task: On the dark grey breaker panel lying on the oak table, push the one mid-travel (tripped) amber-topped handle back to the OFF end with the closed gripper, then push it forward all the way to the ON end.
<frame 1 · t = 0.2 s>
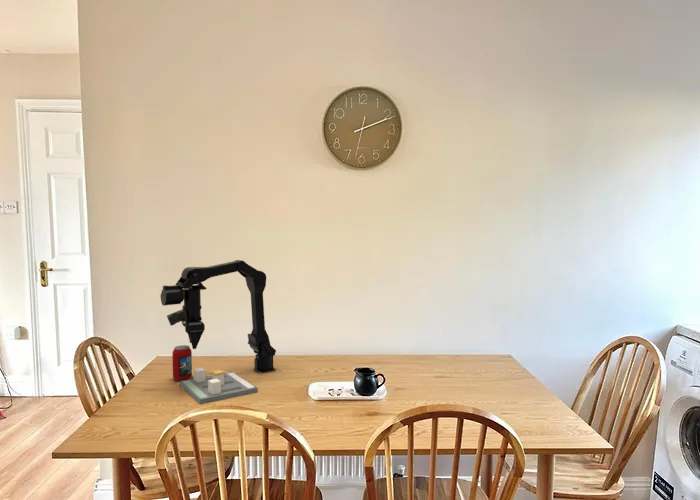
hand: (192, 345, 179), 14 cm above the table, fingers open, 9 cm apart
breaker 2: (214, 386, 166), point 4 cm above the table, slide at 8.0 cm
beverage can: (182, 379, 186), on the table
panel: (218, 388, 175), on the table
tripped breaker: (217, 377, 175), point 4 cm above the table, slide at 4.0 cm
breaker 1: (199, 375, 179), point 4 cm above the table, slide at 8.0 cm
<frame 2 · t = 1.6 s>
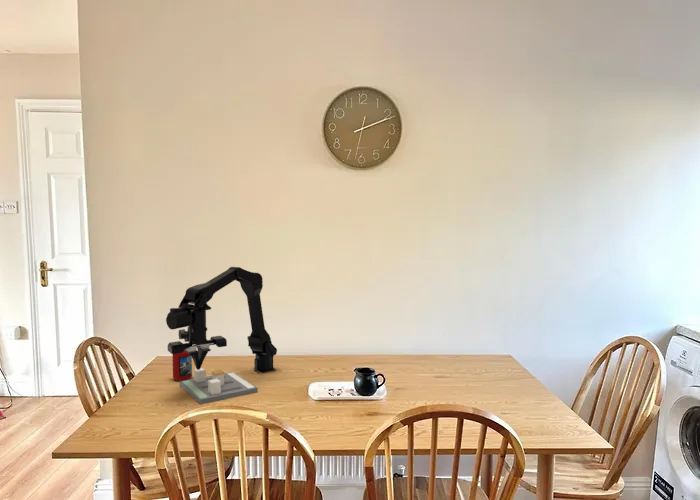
hand: (198, 369, 171), 8 cm above the table, fingers closed
nothing on the table moved.
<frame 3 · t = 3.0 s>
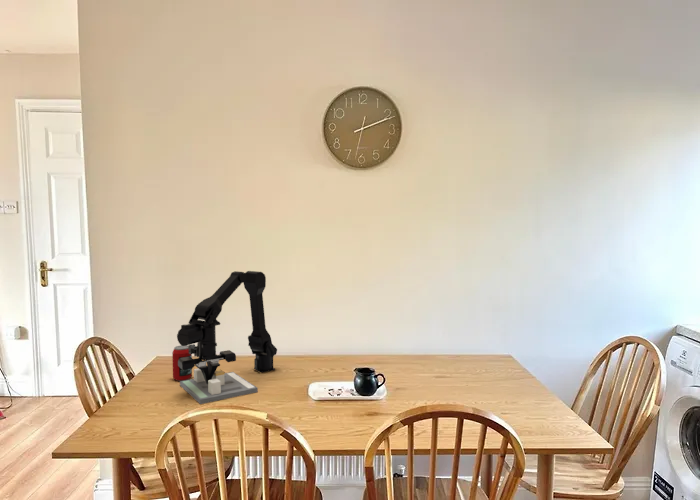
hand: (207, 383, 173), 2 cm above the table, fingers closed
tripped breaker: (218, 377, 175), point 4 cm above the table, slide at 3.8 cm, touching gripper
everything else where it was.
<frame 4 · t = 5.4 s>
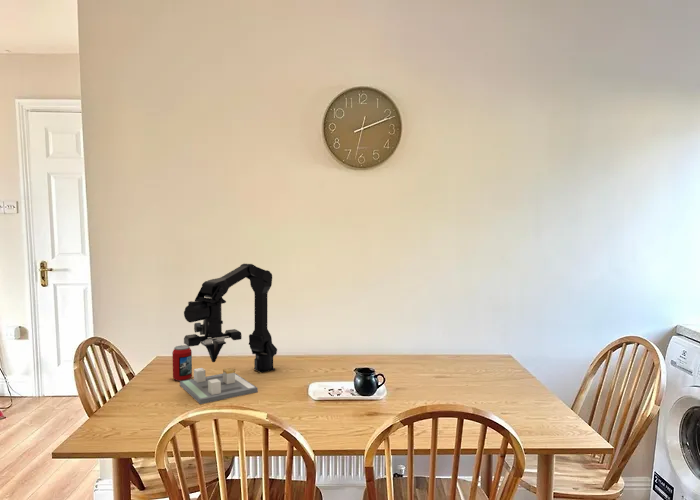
hand: (213, 361, 174), 10 cm above the table, fingers closed
tripped breaker: (229, 375, 177), point 4 cm above the table, slide at -0.1 cm
everything else where it was.
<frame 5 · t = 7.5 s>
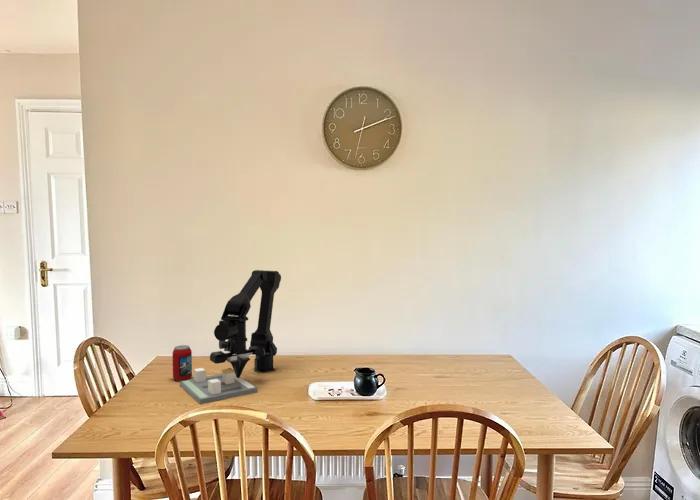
hand: (238, 377, 179), 3 cm above the table, fingers closed
tripped breaker: (228, 376, 177), point 4 cm above the table, slide at 0.2 cm, touching gripper
everything else where it was.
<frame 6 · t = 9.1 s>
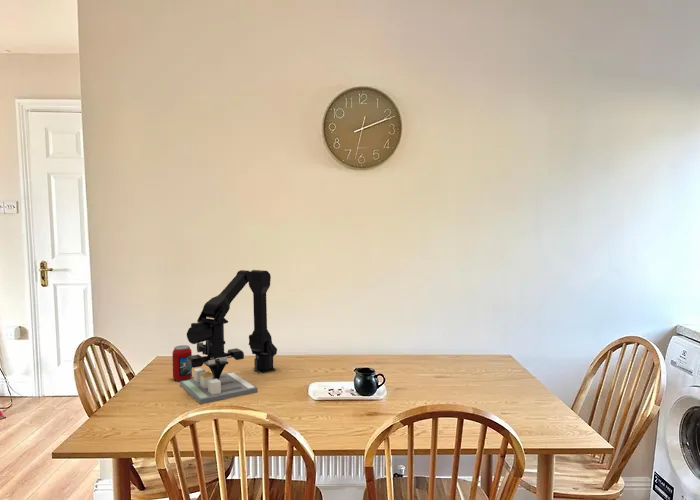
hand: (216, 381, 174), 3 cm above the table, fingers closed
tripped breaker: (206, 380, 172), point 4 cm above the table, slide at 8.1 cm, touching gripper
everything else where it was.
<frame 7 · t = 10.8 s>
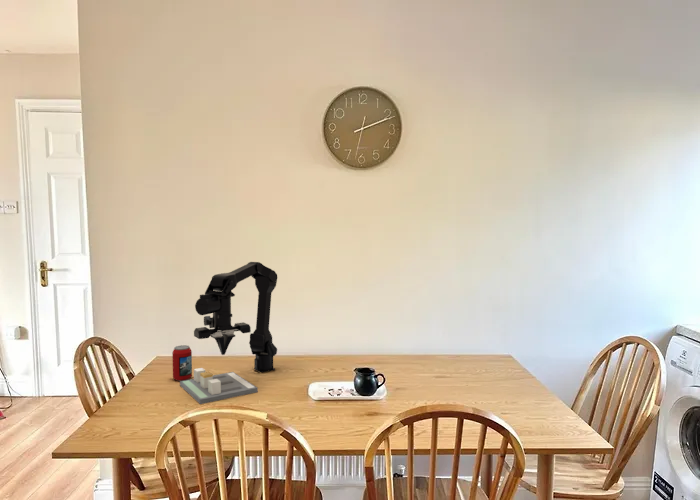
hand: (223, 354, 175), 12 cm above the table, fingers closed
tripped breaker: (206, 380, 172), point 4 cm above the table, slide at 8.1 cm
everything else where it was.
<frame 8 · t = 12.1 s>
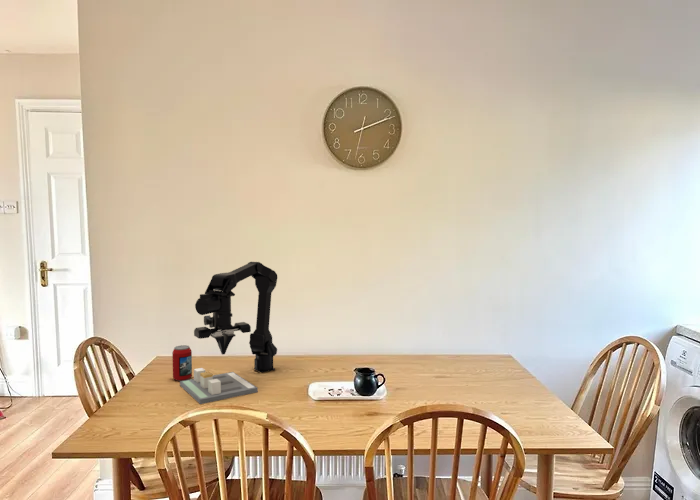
hand: (223, 354, 175), 12 cm above the table, fingers closed
nothing on the table moved.
at the end: tripped breaker slide at 8.1 cm; breaker 2 slide at 8.0 cm; breaker 1 slide at 8.0 cm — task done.
